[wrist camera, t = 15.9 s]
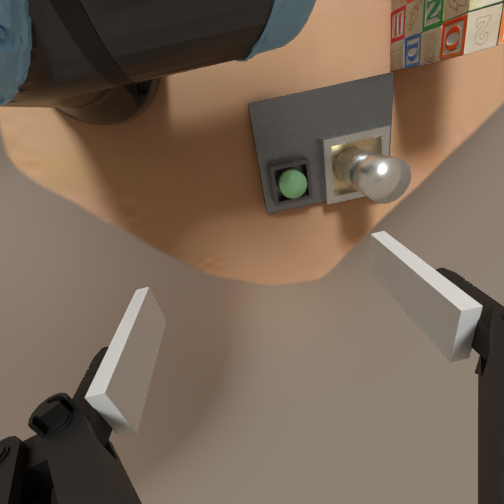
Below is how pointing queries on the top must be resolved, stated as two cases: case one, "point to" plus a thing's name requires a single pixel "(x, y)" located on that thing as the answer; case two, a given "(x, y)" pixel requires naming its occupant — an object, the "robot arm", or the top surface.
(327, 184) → the panel
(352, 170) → the cylinder
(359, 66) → the top surface
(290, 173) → the button
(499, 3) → the stack of blocks
